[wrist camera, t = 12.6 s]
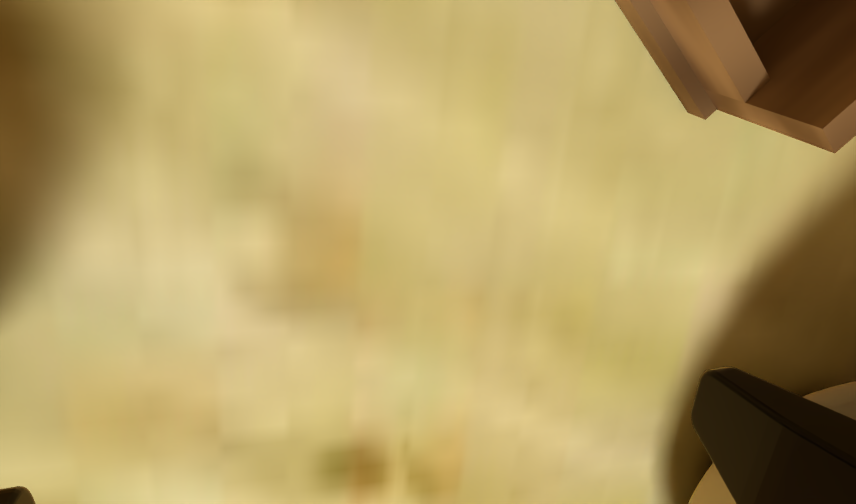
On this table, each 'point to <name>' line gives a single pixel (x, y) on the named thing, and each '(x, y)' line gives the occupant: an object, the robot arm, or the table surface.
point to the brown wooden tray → (758, 61)
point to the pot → (848, 399)
